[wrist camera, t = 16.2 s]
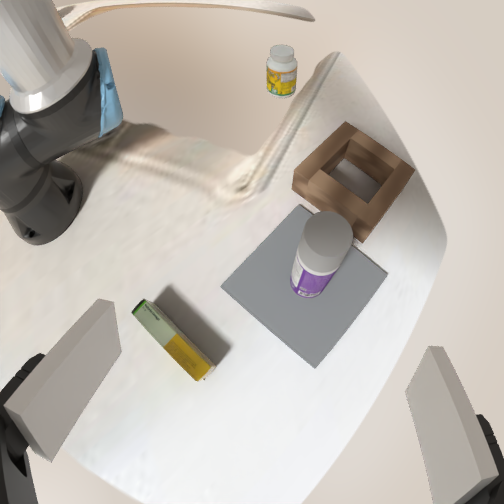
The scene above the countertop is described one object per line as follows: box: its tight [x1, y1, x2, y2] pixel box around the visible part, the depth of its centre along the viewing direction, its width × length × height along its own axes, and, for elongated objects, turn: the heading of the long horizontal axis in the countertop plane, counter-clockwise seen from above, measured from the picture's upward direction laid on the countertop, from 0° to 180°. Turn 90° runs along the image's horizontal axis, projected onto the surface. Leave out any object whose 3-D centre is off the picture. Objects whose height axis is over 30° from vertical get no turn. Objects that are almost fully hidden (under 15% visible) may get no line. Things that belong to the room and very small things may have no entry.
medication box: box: [132, 299, 216, 381], centre depth 38 cm, size 12×3×4 cm, turn 47°
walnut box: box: [292, 121, 415, 243], centre depth 44 cm, size 13×13×5 cm
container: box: [290, 211, 353, 299], centre depth 34 cm, size 5×5×15 cm
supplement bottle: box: [267, 45, 297, 98], centre depth 51 cm, size 5×5×10 cm
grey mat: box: [220, 205, 387, 368], centre depth 42 cm, size 16×16×1 cm
